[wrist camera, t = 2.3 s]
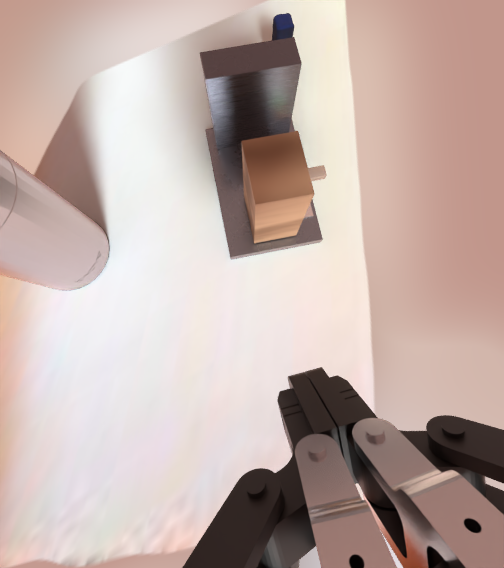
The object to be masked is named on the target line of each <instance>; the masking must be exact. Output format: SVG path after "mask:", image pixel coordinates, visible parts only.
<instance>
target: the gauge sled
mask: <svg viewBox="0 0 504 568" xmlns="http://www.w3.org/2000/svg"><path fill="white" fill-rule="evenodd" d="M242 162H243V184H244V198H245V203H246V208H247V212H248V217H249V222H250V226H251V231H252V236H253V240H254V243H259V242H264V241H269V240H275V239H280V238H285V237H290V236H295V235H297V232H298V230H299V228H300V225H301V223H302V221H303V219H304V216H305V214H306V212H307V209H308V207H309V205H310V202H311V200H312V198H313V196H314V190H313V186H312V183H311V181H315V180H320V179H325V177H326V171H325V167H324V165H323V166H318V167H312V168H308V167H307V163H306V160H305V156H304V152H303V148H302V144H301V140H300V137H299V133H298V131H294V132H289V133H283V134H278V135H272V136H266V137H261V138H255V139H249V140H244V141H242Z"/></svg>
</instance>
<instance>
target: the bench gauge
mask: <svg viewBox="0 0 504 568" xmlns="http://www.w3.org/2000/svg"><path fill="white" fill-rule="evenodd" d="M200 56H201V62H202V68H203V73H204V79H205V85H206V90H207V96H208V101H209V107H210V113H211V118H212V124H213V128H212V129H207V130H206V135H207V140H208V145H209V150H210V155H211V161H212V166H213V171H214V176H215V181H216V186H217V191H218V196H219V201H220V207H221V212H222V217H223V222H224V227H225V232H226V237H227V242H228V247H229V252H230V258H231V259H237V258H242V257H247V256H252V255H257V254H262V253H267V252H273V251H278V250H283V249H288V248H293V247H298V246H303V245H309V244H314V243H319V242H321V241H322V240H323V239H322V235H321V231H320V227H319V223H318V220H317V216H316V212H315V208H314V204H313V200H311V202H310V205H309V207H308V209H307V212H306V214H305V216H304V219H303V221H302V223H301V225H300V228H299V230H298V232H297V235H295V236H290V237H285V238H280V239H275V240H269V241H264V242H259V243H254V240H253V236H252V231H251V226H250V222H249V217H248V212H247V208H246V203H245V198H244V184H243V162H242V141H244V140H249V139H255V138H261V137H266V136H272V135H278V134H283V133H289V132H294V127H293V123H292V119H291V117H292V112H293V107H294V101H295V96H296V90H297V85H298V79H299V74H300V68H301V60H300V57H299V53H298V49H297V46H296V42H295V39H294V37H292V38H286V39H280V40H274V41H268V42H261V43H255V44H249V45H243V46H237V47H231V48H225V49H219V50H213V51H207V52H201V53H200Z"/></svg>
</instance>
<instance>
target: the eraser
mask: <svg viewBox="0 0 504 568" xmlns="http://www.w3.org/2000/svg"><path fill="white" fill-rule="evenodd" d="M293 31H294V24H293V21H292V18H291V15H290V14H289V13H287V14H279V15H276V16H275V17H274V19H273V34H272V41H274V40H280V39H286V38H292V37H293Z"/></svg>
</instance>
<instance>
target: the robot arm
mask: <svg viewBox="0 0 504 568" xmlns="http://www.w3.org/2000/svg"><path fill="white" fill-rule="evenodd" d="M108 255H109V243H108V239H107V236H106V234H105V232H104V231H103V229H102V228H101V227H100V226H99V225H98V224H97V223H96V222H94V221H93V220H92V219H90V218H89V217H88V216H86V215H85V214H84V213H82V212H81V211H80V210H79V209H77V208H76V207H75V206H73V205H72V204H71V203H69V202H68V201H67V200H65V199H64V198H63V197H61V196H60V195H59V194H57V193H56V192H55V191H53V190H52V189H51V188H50V187H48V186H47V185H46V184H44V183H43V182H42V181H40V180H39V179H38V178H36V177H35V176H34V175H32V174H31V173H29V172H28V171H27V170H25V169H24V168H23V167H22V166H20V165H19V164H18V163H16V162H15V161H14V160H12V159H11V158H10V157H8V156H7V155H6V154H5V153H3V152H2V151H0V275H3V276H7V277H11V278H14V279H18V280H22V281H26V282H30V283H33V284H37V285H41V286H45V287H49V288H53V289H57V290H74V289H78V288H81V287H83V286H85V285H88V284H89V283H90V282H92V281H93V280H95V279H96V277H97V276H98V275H99V274H100V273H101V272H102V270H103V269H104V267H105V265H106V262H107V260H108ZM288 381H289V386H290V389H287V390H284V391H280V393H279V396H278V405H279V409H280V413H281V417H282V421H283V425H284V429H285V433H286V436H287V439H288V442H289V445H290V448H291V451H292V458H291V460H290V461H289V463H288V464H287V465H286V466H285V467H284V468H282V469H281V470H280V471H278V472H277V473H274V472H272V471H270V470H268V469H262V468H260V469H254V470H251V471H249V472H247V473H246V474H244V475H243V476H242V477H241V478H240V479H239V481H238V482H237V483H236V485H235V487H234V488H233V490H232V491H231V493H230V494H229V496H228V497H227V499H226V501H225V502H224V504H223V505H222V507H221V508H220V510H219V512H218V513H217V515H216V516H215V518H214V519H213V521H212V522H211V524H210V526H209V527H208V529H207V530H206V532H205V533H204V535H203V537H202V538H201V540H200V541H199V543H198V544H197V546H196V547H195V549H194V551H193V552H192V554H191V555H190V557H189V558H188V560H187V561H186V563H185V565H184V566H183V568H299V559H300V558H301V557H303V556H304V555H305V554H307V553H308V552H309V551H310V550H311V549H313V548H314V547H315V546H316V547H317V551H318V555H319V559H320V564H321V568H397V567H396V565H395V562H394V560H393V558H392V556H391V553H390V551H389V549H388V547H387V544H386V542H385V540H384V538H383V535H384V537H385V538H386V540H387V542H388V543H389V545H390V547H391V548H392V550H393V551H394V553H395V555H396V556H397V558H398V560H399V561H400V563H401V564H402V566H403V568H504V491H502V490H500V489H498V488H495V487H493V486H490V485H487V484H485V476H486V477H488V478H491V479H493V480H496V481H499V482H502V483H504V430H502V429H498V428H495V427H491V426H488V425H484V424H480V423H477V422H473V421H470V420H466V419H463V418H459V417H454V416H446V415H445V416H437V417H434V418H432V419H431V420H430V421H429V422H428V423H427V426H426V429H427V431H400V430H398V429H397V428H396V427H395V426H394V425H392V424H391V423H389V422H388V421H386V420H383V419H379V418H377V417H376V415H375V414H374V413H373V412H372V410H371V409H370V408H369V407H368V406H367V404H366V403H365V402H364V401H363V399H362V398H361V397H360V396H359V395H358V393H357V392H356V391H355V390H354V389H353V387H352V386H351V385H350V384H349V382H348V381H347V380H345V379H343V378H341V377H339V376H334V377H330V378H329V377H328V375H327V374H326V372H325V371H324V370H323V368H322V367H320V368H317V369H313V370H310V371H306V372H303V373H299V374H295V375H292V376H288ZM356 483H359V485H360V487H361V489H362V491H363V496H364V500H362V499H361V497H360V495H359V492H358V490H357V488H356V485H355V484H356ZM380 530H381V531H380ZM381 532H382V533H383V535H382V533H381Z"/></svg>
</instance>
